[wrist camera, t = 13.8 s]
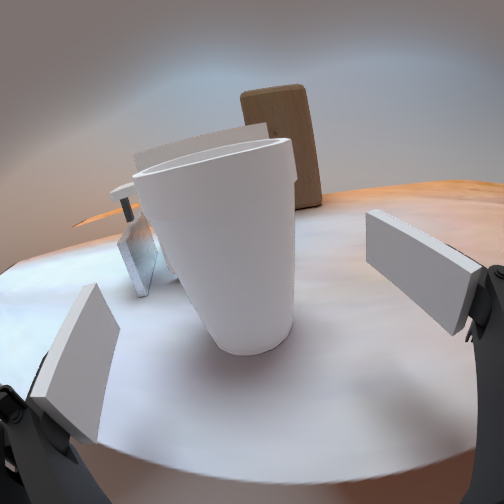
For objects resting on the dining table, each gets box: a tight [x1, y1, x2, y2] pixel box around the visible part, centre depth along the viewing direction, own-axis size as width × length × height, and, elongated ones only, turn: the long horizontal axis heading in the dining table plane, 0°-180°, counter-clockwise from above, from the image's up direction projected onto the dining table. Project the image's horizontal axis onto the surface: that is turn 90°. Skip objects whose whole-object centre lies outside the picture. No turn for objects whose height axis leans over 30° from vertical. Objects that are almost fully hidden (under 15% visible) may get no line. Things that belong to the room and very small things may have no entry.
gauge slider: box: [109, 122, 269, 274], centre depth 28 cm, size 6×17×13 cm, turn 102°
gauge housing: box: [117, 211, 158, 297], centre depth 31 cm, size 18×17×12 cm
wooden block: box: [240, 84, 322, 209], centre depth 43 cm, size 10×10×20 cm
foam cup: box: [132, 138, 298, 355], centre depth 18 cm, size 10×9×13 cm
